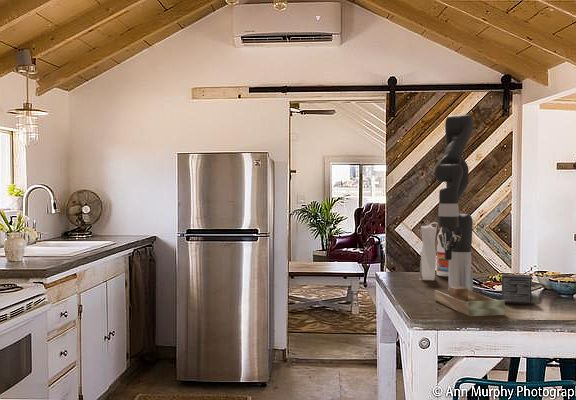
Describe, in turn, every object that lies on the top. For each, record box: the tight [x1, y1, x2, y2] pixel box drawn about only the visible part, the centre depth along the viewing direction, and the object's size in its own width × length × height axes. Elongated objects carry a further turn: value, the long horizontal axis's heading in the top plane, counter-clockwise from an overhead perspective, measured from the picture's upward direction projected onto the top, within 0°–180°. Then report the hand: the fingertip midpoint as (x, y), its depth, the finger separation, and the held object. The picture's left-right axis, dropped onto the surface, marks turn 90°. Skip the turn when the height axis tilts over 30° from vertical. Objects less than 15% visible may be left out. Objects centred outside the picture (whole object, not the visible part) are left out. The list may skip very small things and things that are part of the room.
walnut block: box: [448, 286, 468, 302], centre depth 211 cm, size 5×5×5 cm
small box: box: [501, 274, 533, 305], centre depth 218 cm, size 11×6×10 cm, turn 71°
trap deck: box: [434, 289, 506, 317], centre depth 209 cm, size 13×28×5 cm, turn 10°
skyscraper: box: [418, 222, 438, 281], centre depth 272 cm, size 8×8×28 cm
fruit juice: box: [436, 227, 449, 277], centre depth 284 cm, size 9×9×28 cm
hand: (448, 259), depth 219 cm, fingers closed
